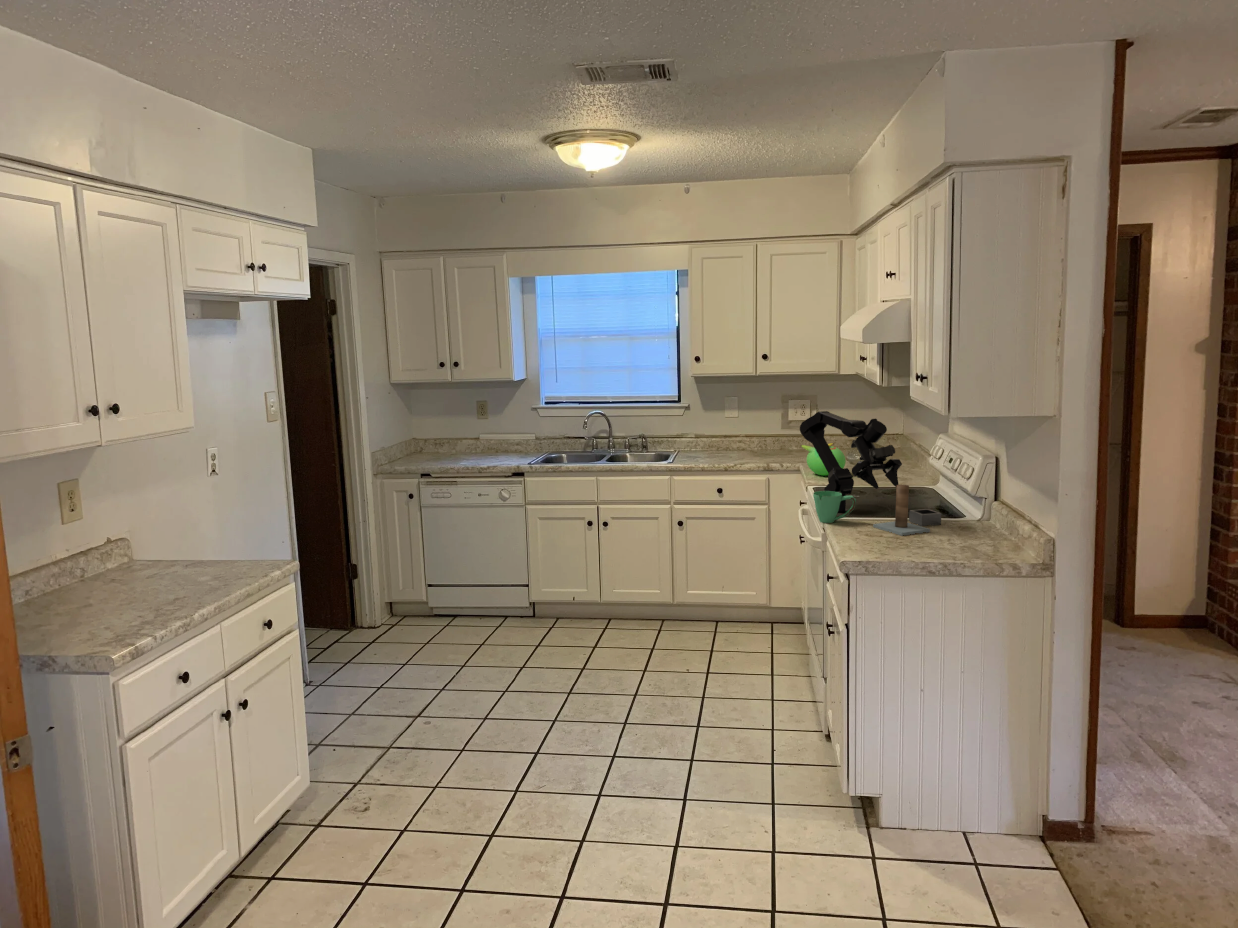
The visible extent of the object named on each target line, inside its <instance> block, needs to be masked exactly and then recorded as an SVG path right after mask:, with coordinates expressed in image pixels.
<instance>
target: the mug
mask: <svg viewBox="0 0 1238 928" xmlns="http://www.w3.org/2000/svg"><path fill="white" fill-rule="evenodd" d="M812 496H813V501H814V506H815V511H816V514H817V517H818V520H819V522H820V523H823V524H833V523H834V522H835V521H838V520H840V519H844V518H846V517H847V516H849V515H850V513H852V511H854V510H855V509H856V508H855V507H856V503H857V499H856V498H855V497H854V496H853V495H846V496H842V494H841V493H839V492H833V491H824V490H819V491H818V490H817V491H814V492H813V494H812ZM843 500H846V501H847V500H851V501H852V504H851V506H850V508H848V511H847V512H844V513H842V514H840V515H838V513H839V512H838V510H839V506H840V502H841V501H843Z"/></svg>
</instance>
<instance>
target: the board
mask: <svg viewBox="0 0 1238 928" xmlns="http://www.w3.org/2000/svg"><path fill="white" fill-rule="evenodd" d="M872 527H873V528H876V529H879V530H881V531H885V532H888V531H889V533H891V532H892V534H894V533H895V534H894V535H898V536H902V537H904V536H910V534H911V535H916V534H915V533H919V534H924V533H923V532H926V533H931V529H930V528H928V527H926V526H920V525H917V524H914V523H912V522H908V526H907V527H906V528H899V527H895V520H894V521H887V522H880V523H873V525H872ZM903 535H904V536H903Z"/></svg>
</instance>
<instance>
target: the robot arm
mask: <svg viewBox="0 0 1238 928" xmlns="http://www.w3.org/2000/svg"><path fill="white" fill-rule="evenodd" d="M827 426H829V427H832V428H834V429H838V430H840V431H841V433H842V434H843V435H844V436H846V437H847V438H855V439H852V440H851V441H852V442H851V444H850V448H851V449H853V448H854V449H855V448H856V449H857V451H858V453H859V454H860V457H859V458H858V459H859V461H857V462H856V463H855V464H854V466H853V467H851V471H850V469H849V468H848V467H846V468H845V467H844V468H841V467H840V465H839V463H838V462H837V460H836V458H835V456H834V455H833V453H832V451H831V449H830V447H829V446H828V444H829V443H828V442H827V441H826V439H825V431H826V430H825V428H827ZM799 431H800V434H801V435H802V437H803V438H804V439H805V440H806V441H807V442H809V443H811V444H812V447H814V448H815V450H816V451H817V453H818V455H819V457H820V459H821V461H822V462H823V464H824V466H825V468H826V470H827V472H828V476H827V482H828V484H827V485H826V486H825V487H824V489H823V491H833V492H839V493H841V494H842V496H847V495H851V494H852V491H853V488H854V485H855V481H854V477H857V478H858V479H860V480H862V481H864V482H865V483H867V484H869V485H870V486H871V487H872V488H874V489H876V490H878V489H879V484H878V482H877V480H876V478H875V475H874V473H873V471H880V470H881V471H882V472H883V473H884V476H885V477H886V479H888V481H890V482H891V484H892V485H893V486H894V488H896V486H897V485H900V484H899V478H898V470H899V469H900V468H901V466H902V465H903V463H902V462H901V460H900V459H899V458H890V459H888V460H887V458H889V457H893V456H894V454H896V448H895V447H894V445H893V444H888V445H886V446H881V447H876V446H875V444H876V443H878V442H879V440H880V439H881V438H882V437H883V436H884V435H885V434H887V431H888V429H887V426H886V425H885V423H883V422H881V421H879V420H878V419H877V418H871V419H870V420H869V421H868V424H867V423H866V422H865V421H864V420H859V419H848V418H845V417H843V416H840V415H837V414H835V413H831V412H830V411H827V410H823V411H817V412H816V413H814V414H813V415H812V416H810V417H808V418H806V419H805V420H803V421H802V422H801V424H800V425H799ZM886 461H887V462H886ZM884 462H886V463H884ZM851 473H852V474H851ZM846 506H847V500H843V501H841V502H840V506H839V510H838V513H843V512H844V513H846V512H847V511H848V510H849V508H847V507H846Z"/></svg>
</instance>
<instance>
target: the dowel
mask: <svg viewBox="0 0 1238 928" xmlns="http://www.w3.org/2000/svg"><path fill="white" fill-rule="evenodd" d="M895 489H896V491H895V493H896V494H895V512H894V513H895V518H894V521H895V527H899V528H906V527H907V526H908V523H909V495H910V485H908V484H899V485H897V486H896V487H895Z"/></svg>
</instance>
